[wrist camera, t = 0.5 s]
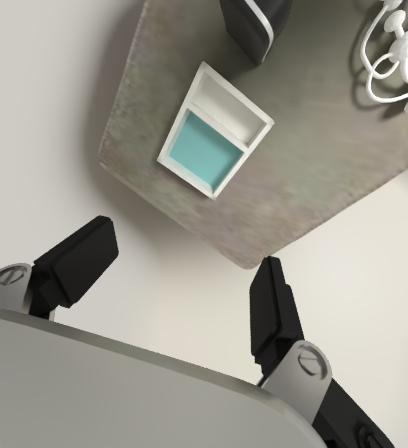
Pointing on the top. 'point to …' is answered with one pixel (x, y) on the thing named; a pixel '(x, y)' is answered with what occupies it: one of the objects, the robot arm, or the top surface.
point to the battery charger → (255, 24)
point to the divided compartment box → (213, 133)
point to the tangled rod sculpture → (398, 53)
